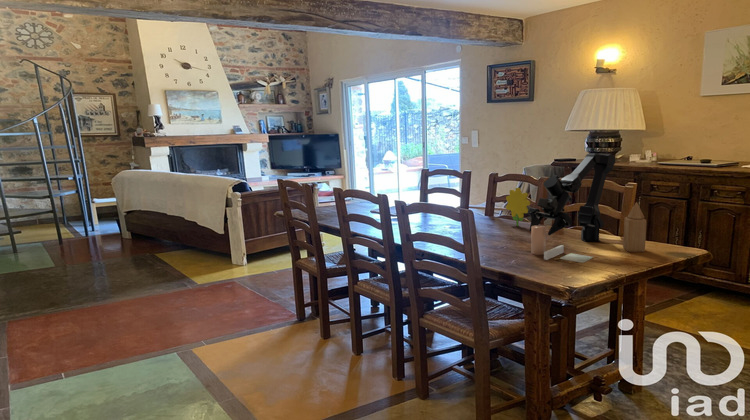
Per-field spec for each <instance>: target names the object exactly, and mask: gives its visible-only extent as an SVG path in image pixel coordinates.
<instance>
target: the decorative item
mask: <svg viewBox="0 0 750 420" xmlns="http://www.w3.org/2000/svg"><path fill="white" fill-rule="evenodd" d="M528 195H529V194H528V192H522V189H521V188H520V187H515V189H510V190H509V195H507V196H505V199H506V201H507V204H506V205H505V209H506V210H508V211H511V217H512V220H513V221H516V222H515V223H516V226H517V227H519V221H520V222H523V220H524V216H525V215H524V214H528V210H529V209H528V206H530V205H531V201H530V200H529V199H528Z"/></svg>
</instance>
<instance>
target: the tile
mask: <svg viewBox="0 0 750 420" xmlns="http://www.w3.org/2000/svg"><path fill="white" fill-rule="evenodd" d="M559 259H560V260H563V261H564V260H565V261H571V262H576V263H582V264H584V263H585V262H588V261H590V260H592V259H594V256H589V255H585V254H584V255H583V254H577V253H568V254H566V255H563V256H561V257H560V258H559Z"/></svg>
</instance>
